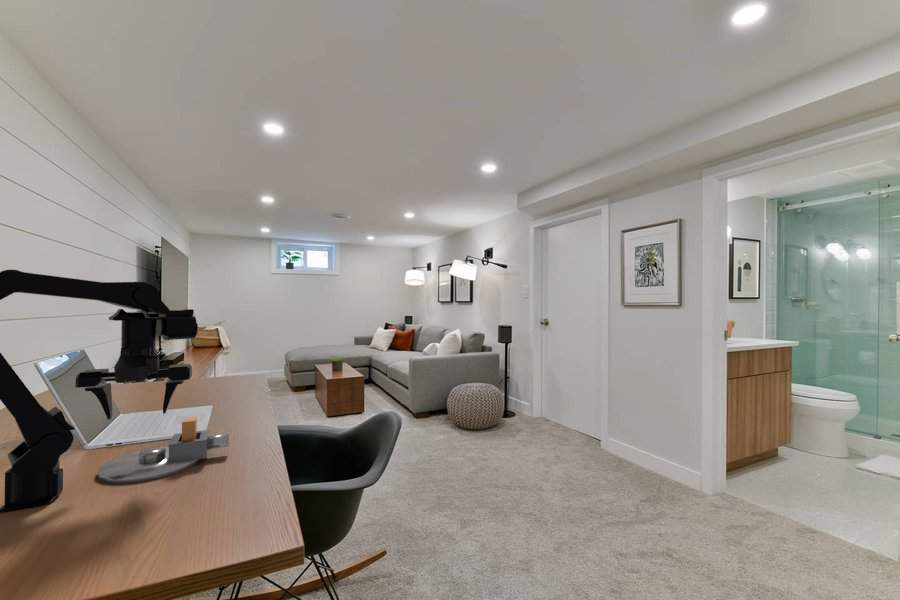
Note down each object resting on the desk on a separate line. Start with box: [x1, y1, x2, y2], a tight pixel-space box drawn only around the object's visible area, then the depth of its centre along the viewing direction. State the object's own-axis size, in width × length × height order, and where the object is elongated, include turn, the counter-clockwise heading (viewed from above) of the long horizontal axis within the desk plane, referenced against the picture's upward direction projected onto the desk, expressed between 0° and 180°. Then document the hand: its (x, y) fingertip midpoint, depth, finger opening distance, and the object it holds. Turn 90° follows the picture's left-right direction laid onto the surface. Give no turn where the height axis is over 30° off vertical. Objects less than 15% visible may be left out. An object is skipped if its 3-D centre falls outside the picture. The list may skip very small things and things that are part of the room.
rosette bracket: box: [97, 429, 230, 484], centre depth 90 cm, size 24×18×5 cm
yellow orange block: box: [181, 416, 198, 441], centre depth 92 cm, size 2×4×8 cm, turn 28°
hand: (137, 416), depth 85 cm, fingers open, 9 cm apart
